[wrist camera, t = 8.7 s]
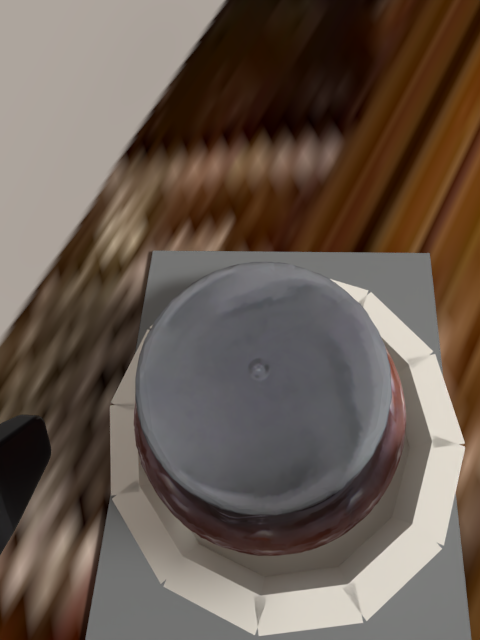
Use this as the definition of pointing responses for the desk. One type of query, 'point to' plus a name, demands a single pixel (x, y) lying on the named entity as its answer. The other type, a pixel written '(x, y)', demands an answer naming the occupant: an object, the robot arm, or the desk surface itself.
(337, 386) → the supplement bottle
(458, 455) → the bowl
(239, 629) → the mat
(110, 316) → the desk surface
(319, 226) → the desk surface
